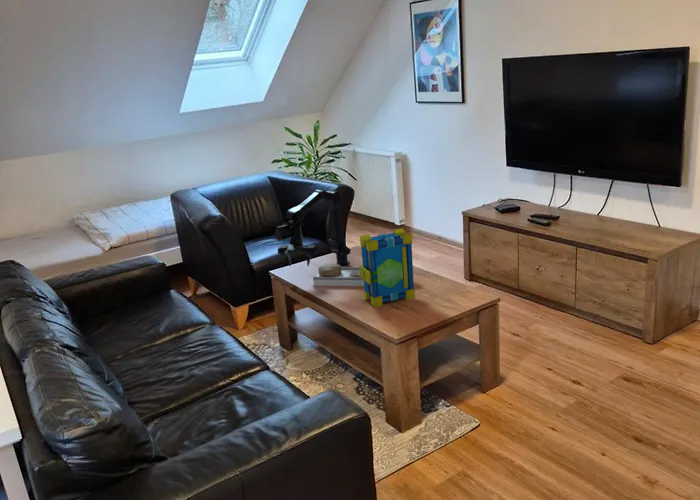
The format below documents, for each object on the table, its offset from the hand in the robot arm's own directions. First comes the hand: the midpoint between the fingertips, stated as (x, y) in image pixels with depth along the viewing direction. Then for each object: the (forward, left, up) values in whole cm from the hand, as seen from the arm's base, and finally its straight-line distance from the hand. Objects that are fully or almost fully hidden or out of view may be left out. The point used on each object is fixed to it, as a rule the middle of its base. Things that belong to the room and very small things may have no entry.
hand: (299, 265), depth 313 cm
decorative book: (+23, +49, -8) cm, 54 cm away
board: (0, +24, -7) cm, 25 cm away
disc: (0, +15, -4) cm, 16 cm away
